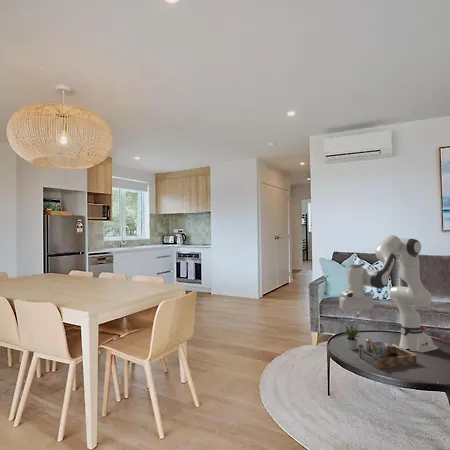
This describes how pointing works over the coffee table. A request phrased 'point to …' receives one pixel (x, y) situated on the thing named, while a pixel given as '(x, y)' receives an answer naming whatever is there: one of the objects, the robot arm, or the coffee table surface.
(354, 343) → the house plant
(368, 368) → the coffee table surface
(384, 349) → the mug
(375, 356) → the ram
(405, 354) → the tray
